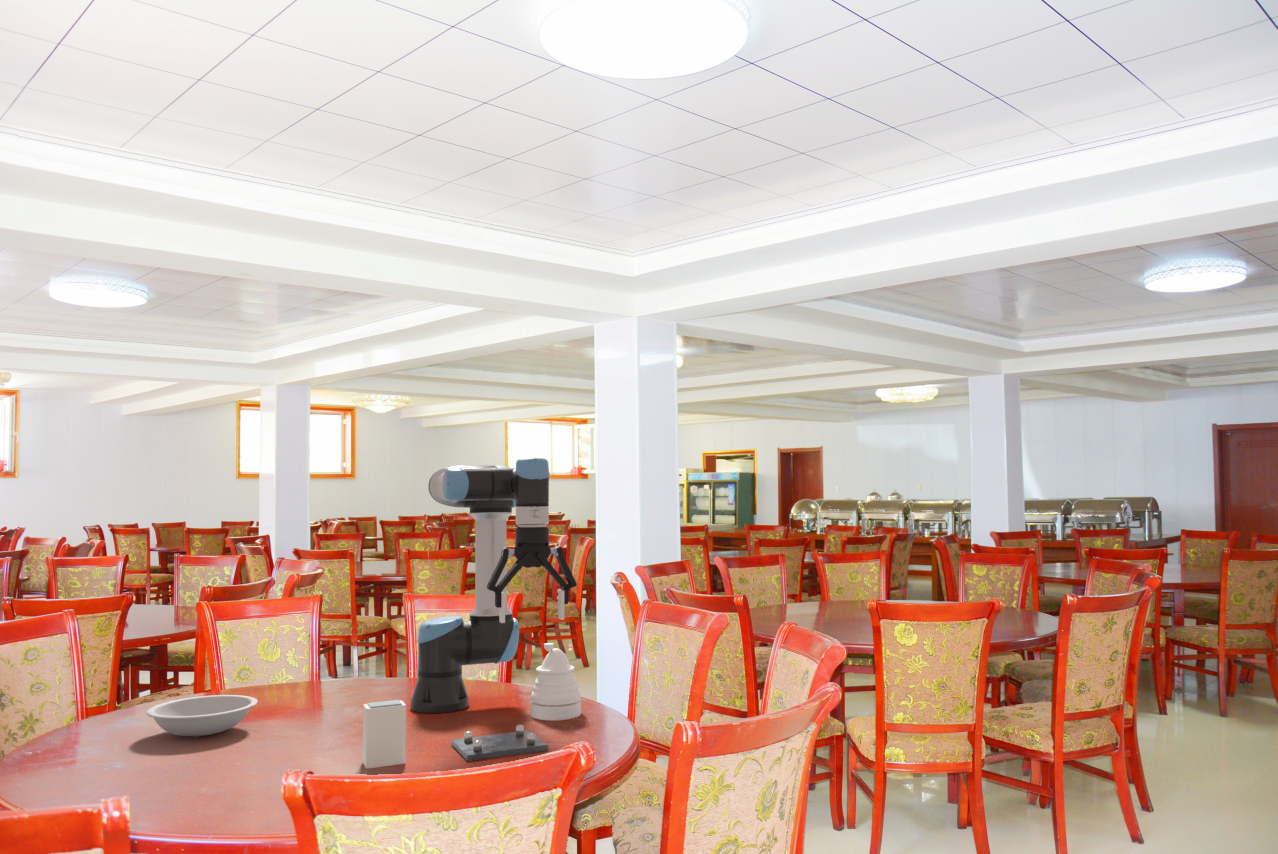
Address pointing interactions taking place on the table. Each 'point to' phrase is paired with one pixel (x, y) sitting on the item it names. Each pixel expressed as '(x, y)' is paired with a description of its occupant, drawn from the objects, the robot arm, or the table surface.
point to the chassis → (498, 744)
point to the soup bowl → (201, 714)
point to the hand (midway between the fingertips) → (532, 620)
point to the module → (384, 733)
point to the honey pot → (555, 688)
